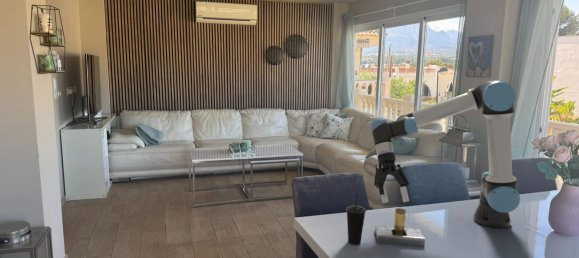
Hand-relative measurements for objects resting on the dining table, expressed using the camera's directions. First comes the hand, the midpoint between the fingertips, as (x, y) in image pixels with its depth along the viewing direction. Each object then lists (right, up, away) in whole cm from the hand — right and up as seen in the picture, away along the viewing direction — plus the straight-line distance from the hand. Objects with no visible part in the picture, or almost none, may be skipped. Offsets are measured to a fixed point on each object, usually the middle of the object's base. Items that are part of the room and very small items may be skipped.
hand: (396, 202), depth 175 cm
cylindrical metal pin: (-1, -14, -7) cm, 15 cm away
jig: (-1, -14, -7) cm, 15 cm away
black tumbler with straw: (-19, -14, -11) cm, 26 cm away
